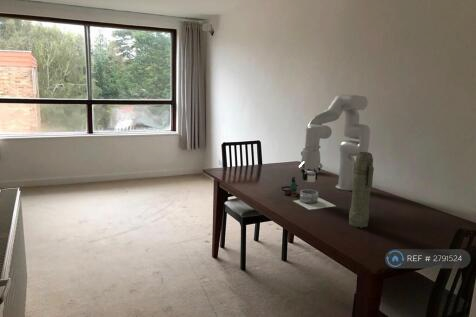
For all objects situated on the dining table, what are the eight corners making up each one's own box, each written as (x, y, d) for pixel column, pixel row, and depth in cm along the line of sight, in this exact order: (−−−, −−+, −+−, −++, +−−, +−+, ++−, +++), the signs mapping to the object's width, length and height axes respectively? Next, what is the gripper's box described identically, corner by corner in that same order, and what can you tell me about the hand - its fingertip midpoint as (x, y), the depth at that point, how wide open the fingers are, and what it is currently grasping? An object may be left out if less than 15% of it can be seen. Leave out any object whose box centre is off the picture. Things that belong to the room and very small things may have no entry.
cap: (311, 179, 205) (311, 170, 204) (317, 181, 199) (318, 173, 198) (302, 179, 202) (302, 171, 201) (308, 182, 197) (309, 173, 196)
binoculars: (281, 176, 220) (297, 176, 218) (282, 193, 222) (298, 193, 220) (280, 180, 211) (297, 179, 209) (281, 197, 213) (297, 197, 211)
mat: (318, 198, 211) (318, 197, 211) (336, 206, 197) (336, 205, 197) (292, 201, 204) (292, 200, 204) (308, 210, 189) (309, 209, 189)
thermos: (360, 230, 164) (367, 155, 157) (342, 221, 175) (348, 151, 168) (374, 227, 168) (382, 154, 161) (356, 219, 179) (362, 150, 172)
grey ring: (310, 197, 210) (311, 188, 209) (321, 203, 201) (321, 193, 200) (296, 199, 206) (296, 190, 205) (306, 205, 197) (306, 195, 196)
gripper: (320, 146, 204) (318, 177, 207) (295, 147, 197) (293, 179, 201) (329, 148, 197) (326, 180, 201) (302, 150, 190) (300, 182, 194)
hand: (309, 179), depth 201 cm, fingers closed on cap, 6 cm apart
